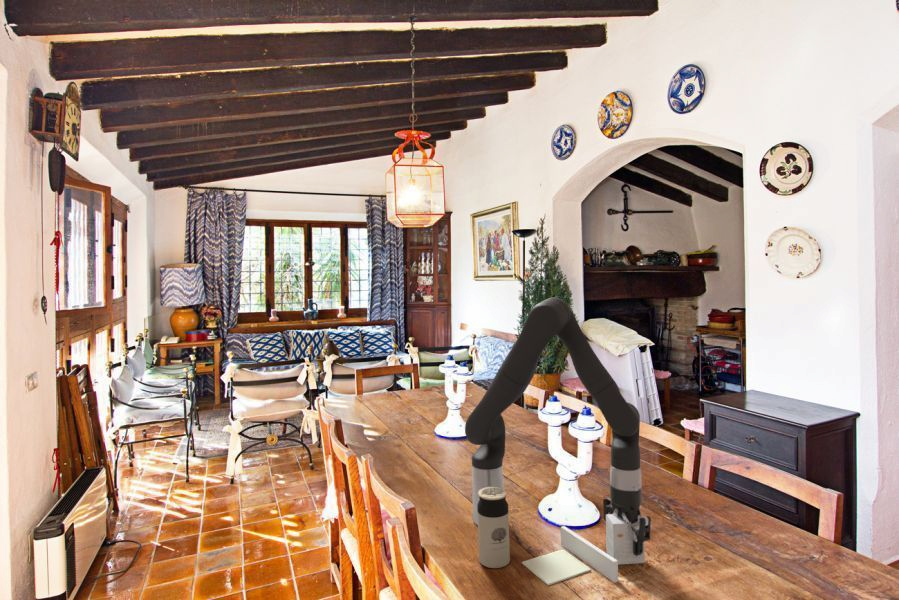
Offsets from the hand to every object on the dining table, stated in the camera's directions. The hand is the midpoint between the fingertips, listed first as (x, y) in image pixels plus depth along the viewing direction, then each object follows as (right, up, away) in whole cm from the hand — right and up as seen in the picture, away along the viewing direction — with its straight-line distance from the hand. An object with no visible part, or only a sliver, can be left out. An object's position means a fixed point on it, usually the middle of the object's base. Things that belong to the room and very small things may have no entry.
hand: (626, 547), depth 131 cm
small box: (0, -3, 0) cm, 3 cm away
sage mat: (-18, -4, -1) cm, 19 cm away
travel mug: (-33, -5, +3) cm, 34 cm away
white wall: (-10, -4, +1) cm, 10 cm away
